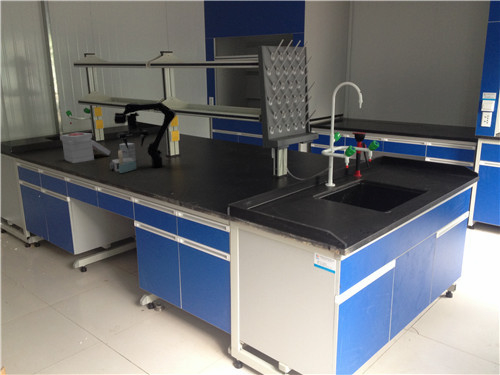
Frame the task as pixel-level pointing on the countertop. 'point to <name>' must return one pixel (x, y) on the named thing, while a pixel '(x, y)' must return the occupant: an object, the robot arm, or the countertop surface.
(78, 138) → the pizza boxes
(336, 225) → the countertop surface
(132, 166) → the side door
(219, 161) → the countertop surface
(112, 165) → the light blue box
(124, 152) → the supplement box
